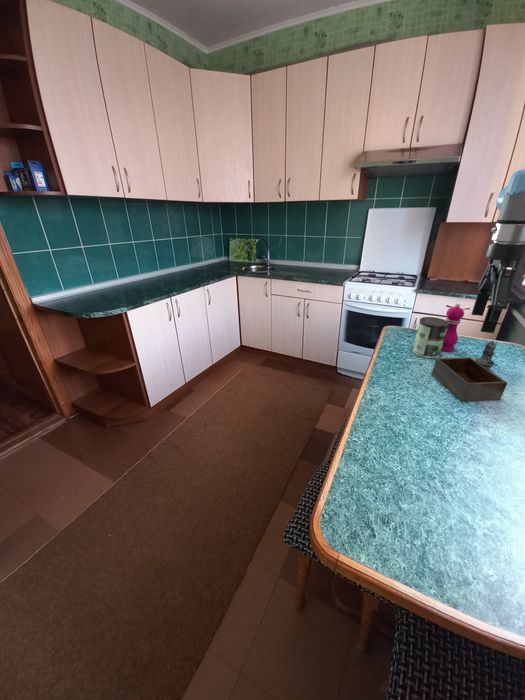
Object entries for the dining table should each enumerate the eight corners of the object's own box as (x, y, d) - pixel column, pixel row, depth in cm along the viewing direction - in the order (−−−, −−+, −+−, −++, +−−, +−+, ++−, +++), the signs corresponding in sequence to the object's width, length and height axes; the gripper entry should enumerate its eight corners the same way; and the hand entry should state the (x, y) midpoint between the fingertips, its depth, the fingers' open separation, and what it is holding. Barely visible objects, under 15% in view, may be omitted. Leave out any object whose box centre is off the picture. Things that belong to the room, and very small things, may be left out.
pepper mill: (434, 349, 124) (446, 304, 115) (436, 343, 129) (448, 300, 120) (453, 353, 120) (468, 307, 111) (455, 347, 125) (469, 302, 116)
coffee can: (442, 352, 122) (452, 320, 115) (435, 361, 115) (445, 328, 108) (416, 345, 128) (424, 314, 121) (408, 353, 121) (416, 321, 115)
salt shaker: (469, 365, 112) (479, 336, 106) (486, 366, 110) (497, 337, 105) (476, 373, 106) (487, 343, 101) (494, 374, 105) (506, 344, 100)
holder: (464, 372, 107) (470, 357, 104) (500, 400, 92) (507, 382, 89) (431, 374, 106) (436, 358, 103) (461, 401, 91) (467, 384, 88)
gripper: (480, 236, 83) (459, 307, 92) (503, 249, 62) (473, 338, 72) (512, 237, 80) (487, 310, 89) (548, 250, 60) (511, 342, 69)
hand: (481, 323), depth 81 cm, fingers open, 13 cm apart
